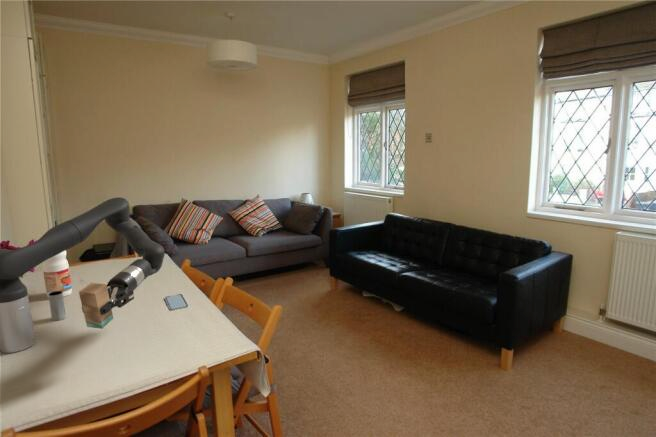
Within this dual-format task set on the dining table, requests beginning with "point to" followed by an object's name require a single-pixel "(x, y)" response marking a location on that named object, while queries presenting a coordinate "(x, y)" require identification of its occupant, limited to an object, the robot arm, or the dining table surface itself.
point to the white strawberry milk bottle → (57, 274)
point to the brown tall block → (95, 305)
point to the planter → (57, 305)
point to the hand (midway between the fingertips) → (92, 311)
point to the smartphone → (176, 302)
